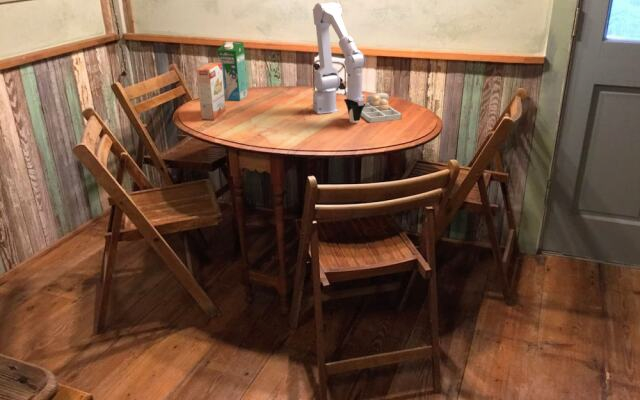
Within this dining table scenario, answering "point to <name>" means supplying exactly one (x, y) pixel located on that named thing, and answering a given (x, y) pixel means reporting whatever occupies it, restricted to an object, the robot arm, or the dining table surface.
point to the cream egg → (351, 117)
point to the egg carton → (379, 114)
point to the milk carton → (233, 70)
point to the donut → (382, 95)
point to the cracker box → (211, 90)
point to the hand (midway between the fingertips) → (354, 118)
